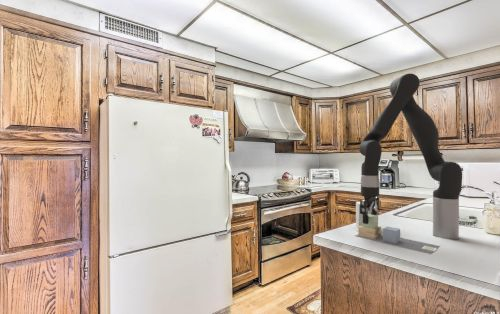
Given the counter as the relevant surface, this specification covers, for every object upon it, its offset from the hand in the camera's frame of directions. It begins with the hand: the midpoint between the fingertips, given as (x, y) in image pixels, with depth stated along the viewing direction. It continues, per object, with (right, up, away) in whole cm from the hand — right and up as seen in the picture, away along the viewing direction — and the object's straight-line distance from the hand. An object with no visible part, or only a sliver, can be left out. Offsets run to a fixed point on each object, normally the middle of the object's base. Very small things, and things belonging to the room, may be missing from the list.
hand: (369, 221), depth 118 cm
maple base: (0, -6, 0) cm, 6 cm away
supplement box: (+4, -7, +13) cm, 15 cm away
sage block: (0, -2, 0) cm, 2 cm away
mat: (+7, -7, -7) cm, 12 cm away
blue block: (+6, -6, -7) cm, 11 cm away
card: (+15, -6, -17) cm, 23 cm away
